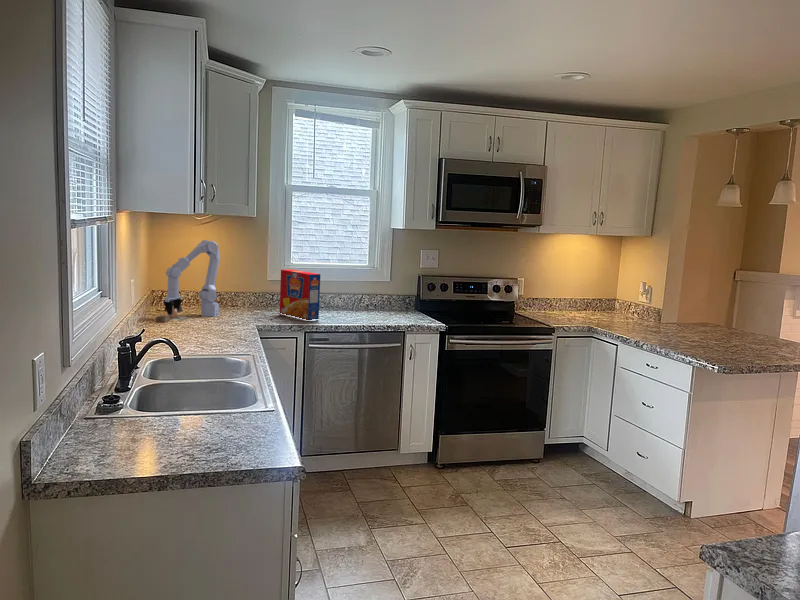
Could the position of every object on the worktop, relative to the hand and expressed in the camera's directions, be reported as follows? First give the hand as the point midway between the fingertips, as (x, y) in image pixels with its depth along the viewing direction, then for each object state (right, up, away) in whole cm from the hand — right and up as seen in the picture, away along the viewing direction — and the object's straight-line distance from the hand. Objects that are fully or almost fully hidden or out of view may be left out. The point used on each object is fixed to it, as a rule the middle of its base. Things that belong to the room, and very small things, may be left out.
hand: (172, 313), depth 334 cm
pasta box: (+64, -4, +31) cm, 71 cm away
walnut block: (-1, -5, -12) cm, 13 cm away
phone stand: (-9, 0, +25) cm, 27 cm away
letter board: (+1, -4, 0) cm, 4 cm away
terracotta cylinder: (0, -3, 0) cm, 3 cm away
